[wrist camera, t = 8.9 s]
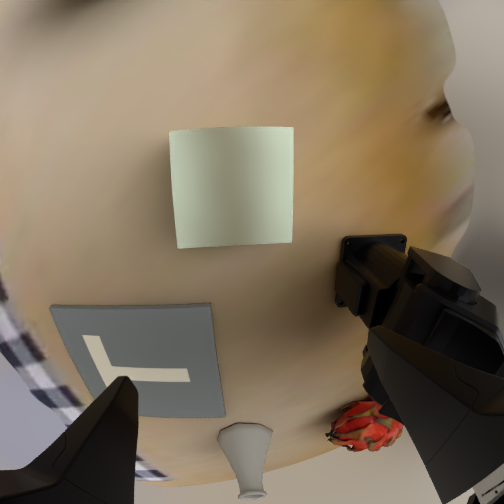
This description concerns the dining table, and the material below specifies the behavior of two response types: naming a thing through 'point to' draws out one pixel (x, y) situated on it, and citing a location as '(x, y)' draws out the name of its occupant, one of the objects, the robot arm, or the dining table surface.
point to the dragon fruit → (364, 428)
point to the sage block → (232, 185)
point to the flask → (247, 456)
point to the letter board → (147, 354)
